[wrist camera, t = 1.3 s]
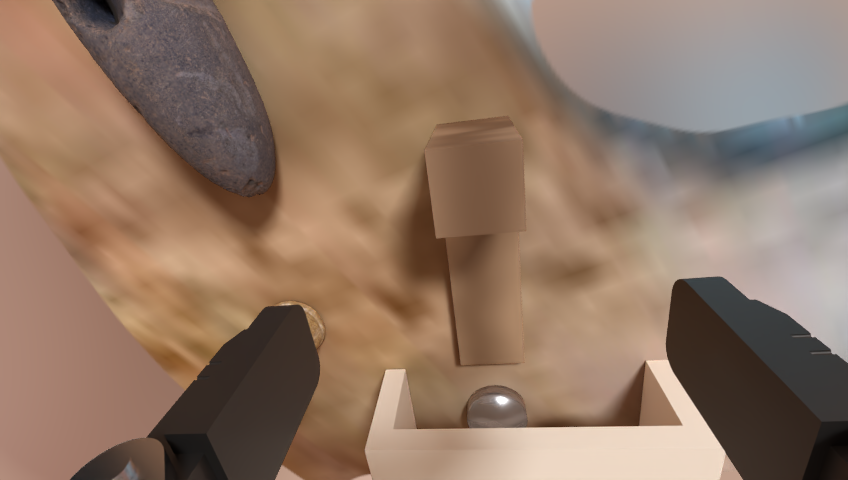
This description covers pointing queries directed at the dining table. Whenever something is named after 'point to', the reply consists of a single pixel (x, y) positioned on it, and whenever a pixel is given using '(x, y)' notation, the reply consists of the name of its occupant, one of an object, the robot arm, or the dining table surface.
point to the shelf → (548, 442)
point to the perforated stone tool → (183, 83)
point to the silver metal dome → (496, 408)
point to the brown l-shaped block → (481, 232)
